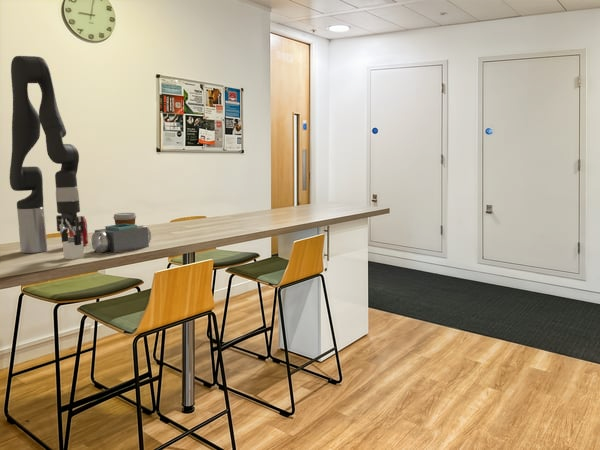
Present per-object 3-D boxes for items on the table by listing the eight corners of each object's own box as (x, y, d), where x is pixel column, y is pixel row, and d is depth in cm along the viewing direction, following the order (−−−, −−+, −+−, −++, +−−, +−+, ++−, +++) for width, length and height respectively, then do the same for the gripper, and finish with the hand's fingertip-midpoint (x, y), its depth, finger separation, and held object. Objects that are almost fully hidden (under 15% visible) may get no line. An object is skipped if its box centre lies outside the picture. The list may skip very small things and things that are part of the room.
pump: (63, 258, 187) (62, 238, 186) (76, 255, 191) (74, 236, 190) (71, 259, 184) (69, 239, 183) (84, 257, 188) (82, 237, 187)
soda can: (82, 243, 218) (80, 215, 217) (92, 245, 214) (89, 216, 212) (66, 246, 212) (64, 217, 211) (76, 247, 208) (73, 218, 207)
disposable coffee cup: (110, 242, 220) (108, 214, 218) (124, 238, 228) (122, 212, 227) (128, 243, 216) (126, 215, 215) (142, 239, 225) (140, 212, 224)
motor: (89, 251, 199) (87, 228, 198) (136, 242, 217) (134, 221, 216) (107, 254, 192) (106, 230, 191) (154, 245, 210) (153, 223, 209)
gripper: (47, 200, 185) (51, 244, 187) (68, 201, 177) (72, 247, 179) (67, 198, 191) (71, 241, 193) (88, 199, 183) (92, 244, 185)
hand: (71, 244), depth 186 cm, fingers open, 8 cm apart
